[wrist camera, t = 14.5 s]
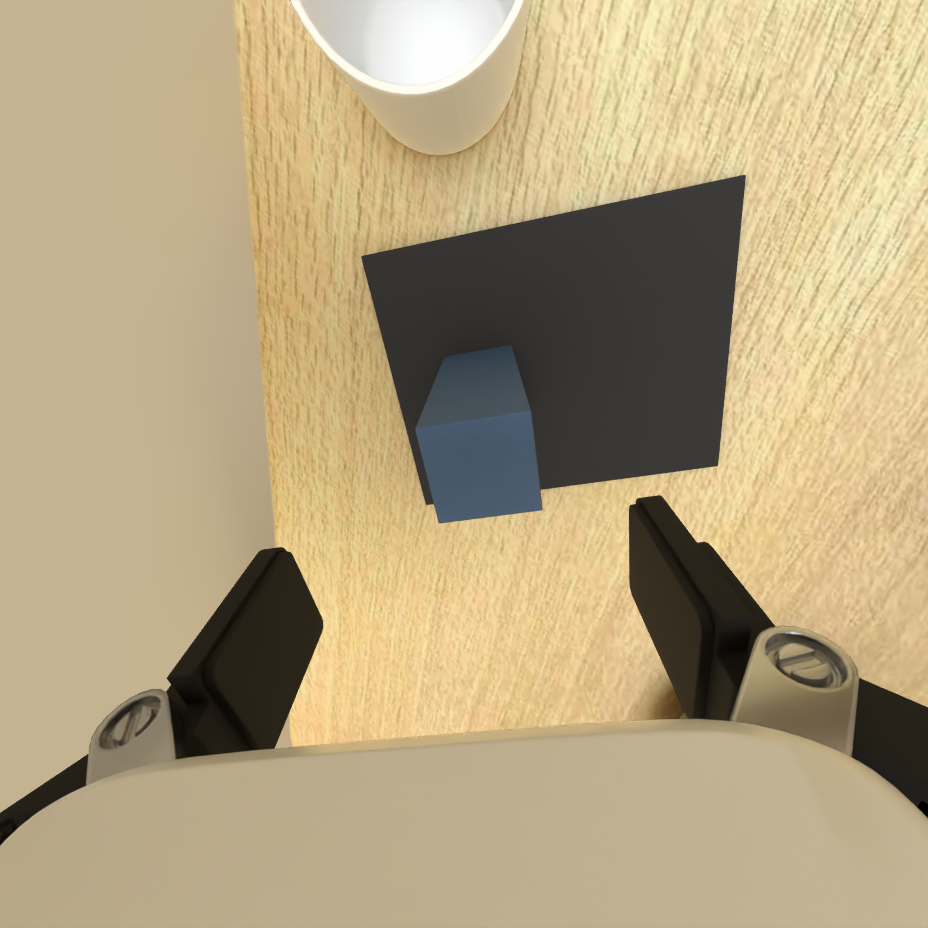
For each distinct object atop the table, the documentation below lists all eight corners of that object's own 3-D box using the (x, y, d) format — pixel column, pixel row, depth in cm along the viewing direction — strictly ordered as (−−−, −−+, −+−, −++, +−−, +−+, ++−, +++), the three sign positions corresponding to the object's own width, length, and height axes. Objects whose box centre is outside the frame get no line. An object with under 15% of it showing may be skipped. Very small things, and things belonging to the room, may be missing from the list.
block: (456, 419, 30) (438, 524, 18) (444, 356, 28) (414, 428, 16) (519, 409, 29) (542, 510, 18) (511, 344, 27) (530, 410, 16)
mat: (426, 502, 33) (426, 505, 33) (362, 256, 26) (360, 256, 25) (715, 463, 31) (718, 466, 30) (742, 175, 23) (746, 174, 23)
